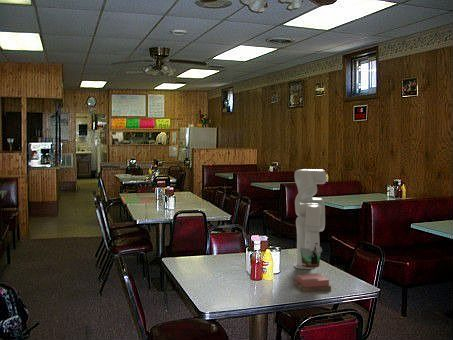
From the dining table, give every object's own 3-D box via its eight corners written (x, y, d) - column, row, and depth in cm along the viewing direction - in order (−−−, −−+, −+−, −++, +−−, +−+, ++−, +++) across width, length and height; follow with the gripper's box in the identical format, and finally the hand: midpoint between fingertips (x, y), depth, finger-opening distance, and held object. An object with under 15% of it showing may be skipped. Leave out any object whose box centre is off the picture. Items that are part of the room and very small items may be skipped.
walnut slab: (293, 284, 264) (293, 279, 264) (319, 283, 267) (319, 277, 267) (303, 293, 249) (303, 287, 249) (330, 291, 253) (331, 286, 252)
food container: (304, 269, 252) (304, 250, 252) (299, 266, 258) (299, 247, 258) (325, 267, 256) (326, 248, 255) (320, 264, 261) (321, 246, 261)
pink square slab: (296, 280, 263) (296, 274, 263) (318, 278, 266) (318, 273, 266) (305, 287, 250) (305, 281, 250) (328, 285, 253) (328, 279, 253)
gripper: (300, 226, 264) (299, 259, 265) (312, 231, 247) (311, 267, 248) (313, 225, 265) (312, 258, 266) (326, 231, 249) (325, 266, 250)
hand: (312, 262), depth 257 cm, fingers closed on food container, 5 cm apart
